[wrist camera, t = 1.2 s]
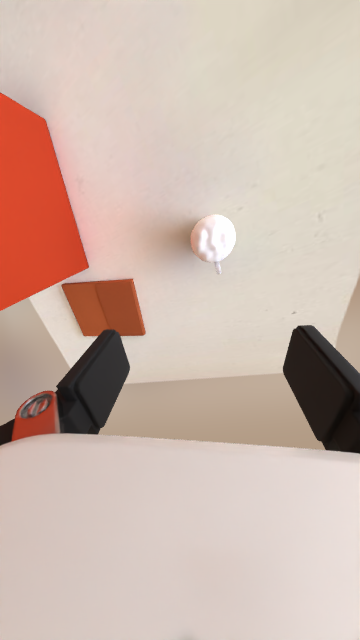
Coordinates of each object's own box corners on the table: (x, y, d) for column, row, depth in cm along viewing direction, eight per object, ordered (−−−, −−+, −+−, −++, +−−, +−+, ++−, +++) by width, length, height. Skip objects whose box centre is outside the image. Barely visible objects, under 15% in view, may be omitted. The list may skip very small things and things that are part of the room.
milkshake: (198, 258, 28) (197, 278, 19) (190, 219, 25) (184, 223, 17) (229, 250, 27) (241, 268, 18) (223, 209, 24) (235, 207, 15)
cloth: (63, 283, 32) (59, 285, 31) (132, 278, 30) (130, 281, 29) (86, 334, 38) (83, 337, 37) (145, 332, 36) (144, 335, 35)
